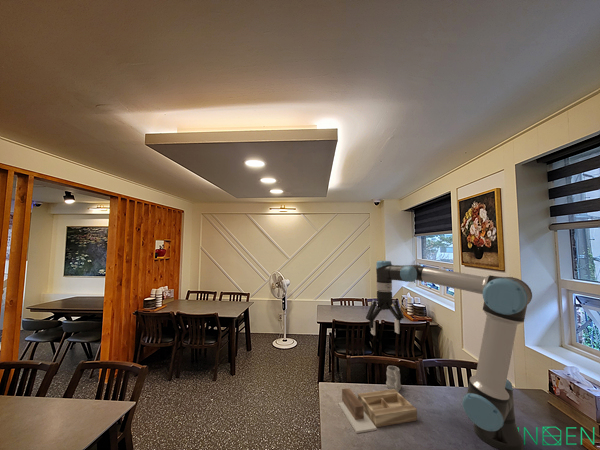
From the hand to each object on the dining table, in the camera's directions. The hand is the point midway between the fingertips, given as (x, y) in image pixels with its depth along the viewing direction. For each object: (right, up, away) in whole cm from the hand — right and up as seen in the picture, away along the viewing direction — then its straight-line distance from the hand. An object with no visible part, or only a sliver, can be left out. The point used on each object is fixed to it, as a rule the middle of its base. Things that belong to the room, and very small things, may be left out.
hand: (385, 333), depth 121 cm
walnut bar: (-19, -30, -11) cm, 37 cm away
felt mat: (-18, -30, -15) cm, 38 cm away
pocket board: (-4, -31, -12) cm, 33 cm away
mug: (+7, -33, +6) cm, 34 cm away
